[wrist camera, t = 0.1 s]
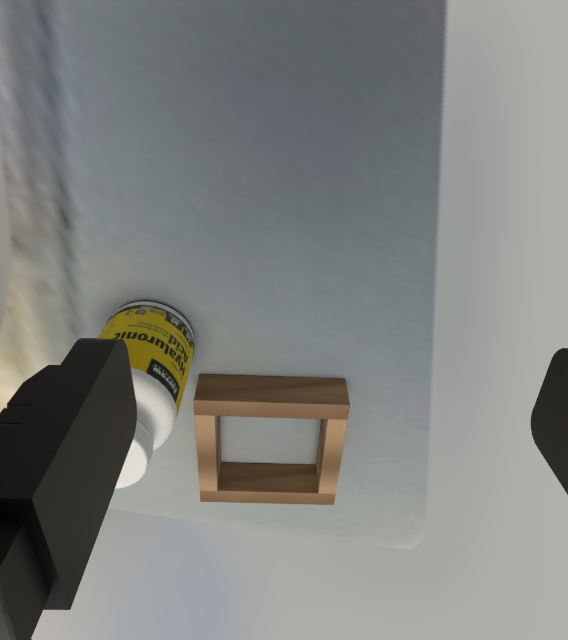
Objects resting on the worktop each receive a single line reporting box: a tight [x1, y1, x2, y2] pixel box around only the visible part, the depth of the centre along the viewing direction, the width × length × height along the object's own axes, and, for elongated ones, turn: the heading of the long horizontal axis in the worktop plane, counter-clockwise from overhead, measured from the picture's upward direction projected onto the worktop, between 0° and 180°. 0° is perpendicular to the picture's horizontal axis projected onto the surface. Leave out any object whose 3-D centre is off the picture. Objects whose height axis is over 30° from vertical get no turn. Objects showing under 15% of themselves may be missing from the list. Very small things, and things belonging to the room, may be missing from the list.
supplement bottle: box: [98, 301, 195, 489], centre depth 25 cm, size 5×5×10 cm
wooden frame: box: [194, 374, 350, 505], centre depth 33 cm, size 9×9×2 cm
